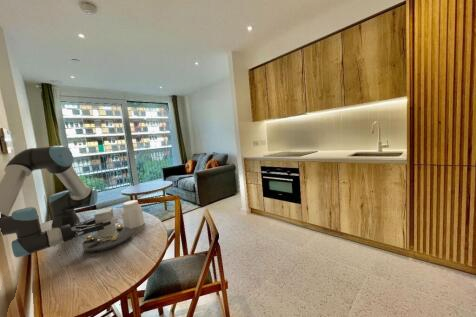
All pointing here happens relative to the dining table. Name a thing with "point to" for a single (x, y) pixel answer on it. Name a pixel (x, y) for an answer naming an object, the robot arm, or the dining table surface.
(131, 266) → the dining table surface
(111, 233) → the supplement box
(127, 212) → the jar
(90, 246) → the base
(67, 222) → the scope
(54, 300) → the dining table surface
